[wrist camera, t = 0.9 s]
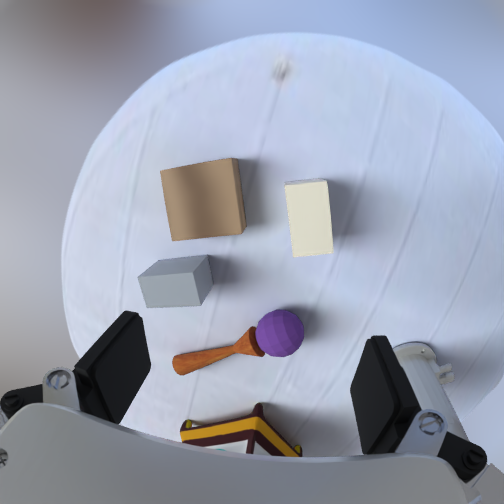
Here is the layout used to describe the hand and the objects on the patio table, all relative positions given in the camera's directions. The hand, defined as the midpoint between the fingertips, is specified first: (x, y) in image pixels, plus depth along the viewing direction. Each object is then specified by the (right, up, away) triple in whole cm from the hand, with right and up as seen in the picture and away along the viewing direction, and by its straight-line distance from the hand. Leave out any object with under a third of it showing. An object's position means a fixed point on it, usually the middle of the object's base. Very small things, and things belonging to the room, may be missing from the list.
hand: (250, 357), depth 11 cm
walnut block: (-5, +11, +22) cm, 25 cm away
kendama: (-2, -8, +28) cm, 29 cm away
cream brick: (+6, +9, +21) cm, 24 cm away
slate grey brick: (-9, +2, +25) cm, 27 cm away
